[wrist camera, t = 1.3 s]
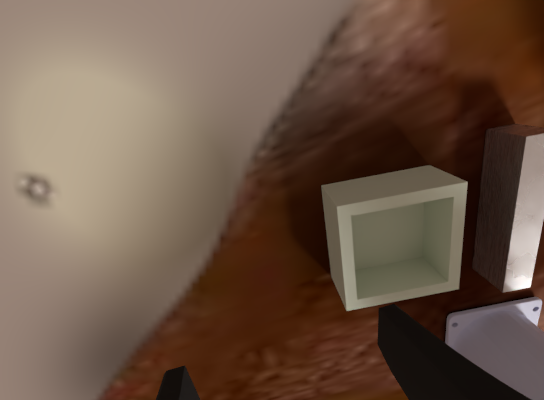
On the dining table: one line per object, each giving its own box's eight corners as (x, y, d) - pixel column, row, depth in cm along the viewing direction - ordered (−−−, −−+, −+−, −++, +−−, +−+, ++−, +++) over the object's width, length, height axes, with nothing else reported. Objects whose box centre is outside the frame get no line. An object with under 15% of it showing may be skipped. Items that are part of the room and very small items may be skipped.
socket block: (424, 256, 23) (458, 289, 19) (330, 274, 23) (346, 311, 19) (427, 163, 20) (467, 181, 17) (320, 184, 20) (336, 206, 17)
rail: (496, 263, 24) (530, 287, 21) (472, 268, 24) (502, 292, 21) (515, 123, 20) (560, 130, 17) (486, 129, 20) (526, 136, 17)
